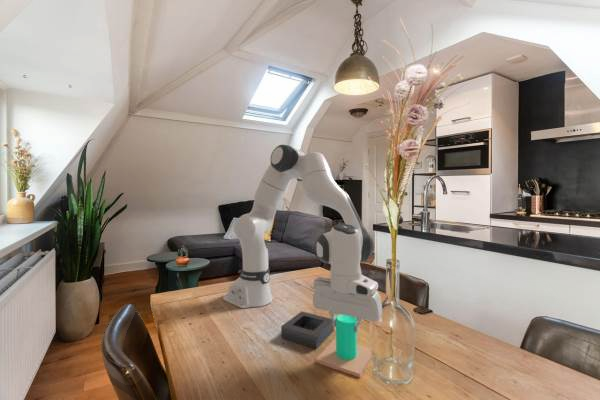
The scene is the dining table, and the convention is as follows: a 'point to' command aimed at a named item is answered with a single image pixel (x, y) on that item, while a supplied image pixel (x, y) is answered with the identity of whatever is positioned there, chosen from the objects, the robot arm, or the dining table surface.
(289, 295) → the dining table surface
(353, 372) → the tile
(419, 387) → the dining table surface
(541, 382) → the dining table surface
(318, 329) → the holder
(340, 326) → the candle
